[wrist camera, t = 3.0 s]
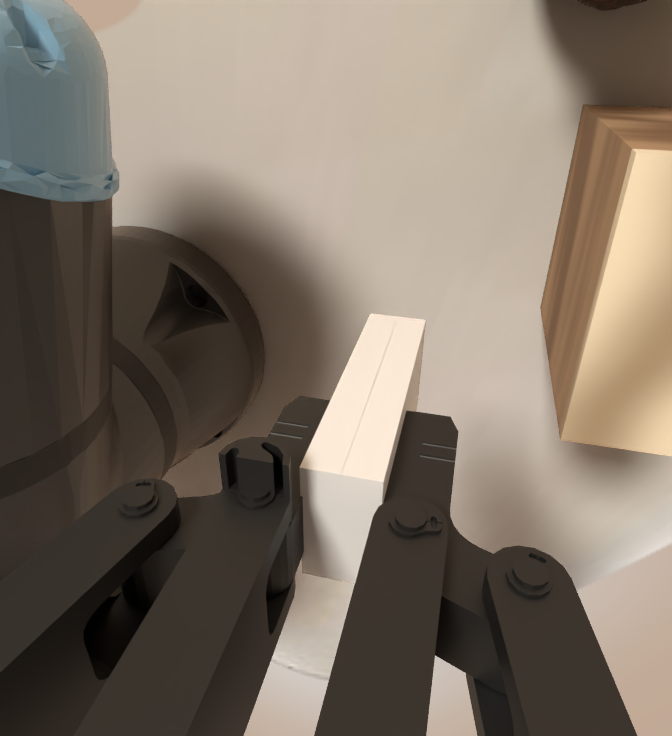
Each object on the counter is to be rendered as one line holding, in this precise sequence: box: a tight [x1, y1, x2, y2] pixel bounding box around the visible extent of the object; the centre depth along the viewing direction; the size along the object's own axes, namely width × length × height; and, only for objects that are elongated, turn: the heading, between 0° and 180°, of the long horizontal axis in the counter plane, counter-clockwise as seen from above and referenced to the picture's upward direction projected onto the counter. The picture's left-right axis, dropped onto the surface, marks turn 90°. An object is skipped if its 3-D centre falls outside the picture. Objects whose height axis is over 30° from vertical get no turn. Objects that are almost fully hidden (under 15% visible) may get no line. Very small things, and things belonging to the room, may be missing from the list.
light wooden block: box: [541, 105, 672, 456], centre depth 23 cm, size 4×10×12 cm, turn 0°
